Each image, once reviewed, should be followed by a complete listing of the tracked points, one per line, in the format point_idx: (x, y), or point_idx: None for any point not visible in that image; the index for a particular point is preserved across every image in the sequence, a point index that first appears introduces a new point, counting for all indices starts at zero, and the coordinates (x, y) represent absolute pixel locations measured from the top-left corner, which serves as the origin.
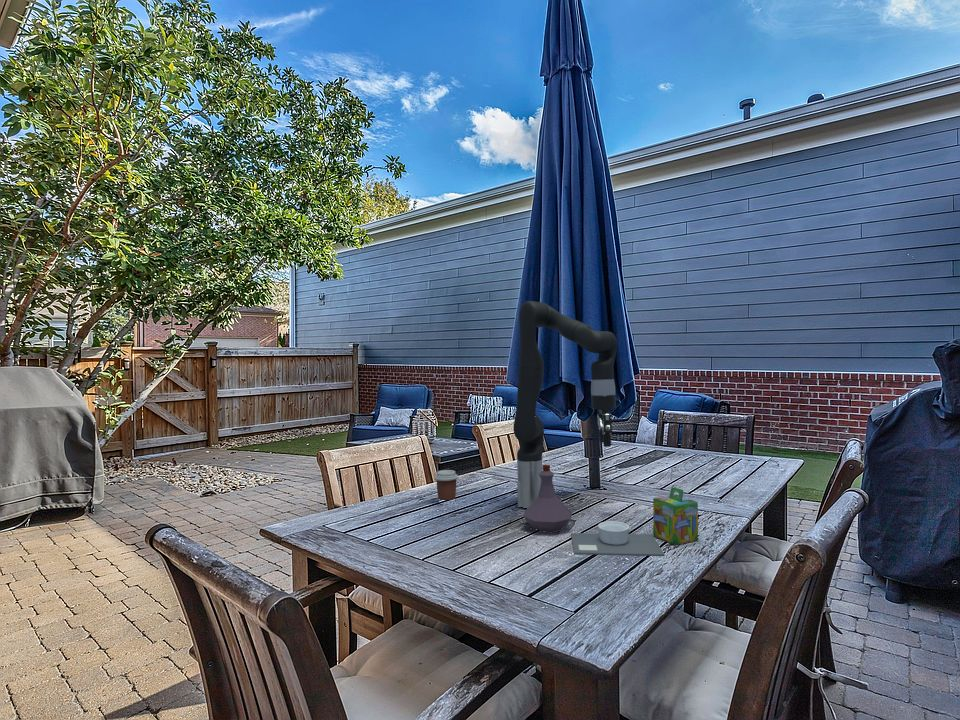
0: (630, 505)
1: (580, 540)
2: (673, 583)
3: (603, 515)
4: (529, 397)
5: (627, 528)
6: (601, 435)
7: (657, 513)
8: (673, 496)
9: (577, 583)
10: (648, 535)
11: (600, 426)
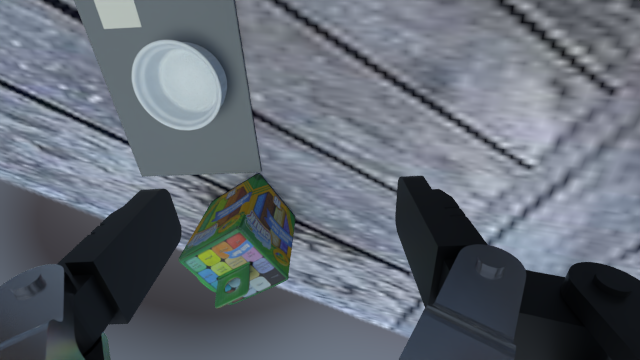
0: (510, 155)
1: None
2: (12, 166)
3: (422, 69)
4: None
5: (166, 124)
6: (416, 224)
7: (233, 211)
8: (237, 274)
9: None
10: (251, 164)
11: (23, 347)
